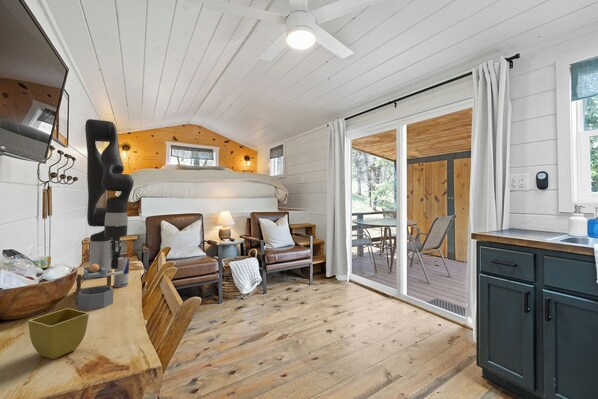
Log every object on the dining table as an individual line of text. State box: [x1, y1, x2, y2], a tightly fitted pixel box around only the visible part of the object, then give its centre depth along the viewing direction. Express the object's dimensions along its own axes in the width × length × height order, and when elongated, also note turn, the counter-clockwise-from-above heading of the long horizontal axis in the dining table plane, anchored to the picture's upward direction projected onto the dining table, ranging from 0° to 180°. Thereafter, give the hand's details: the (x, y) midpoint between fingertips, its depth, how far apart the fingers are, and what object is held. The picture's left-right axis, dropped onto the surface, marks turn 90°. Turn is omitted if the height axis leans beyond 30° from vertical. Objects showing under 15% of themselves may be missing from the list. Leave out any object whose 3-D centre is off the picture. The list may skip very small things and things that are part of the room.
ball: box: [88, 264, 99, 273], centre depth 113 cm, size 4×4×4 cm
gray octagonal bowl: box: [77, 285, 114, 311], centre depth 100 cm, size 10×10×5 cm
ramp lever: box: [81, 265, 123, 280], centre depth 111 cm, size 14×13×5 cm
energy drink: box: [113, 256, 130, 288], centre depth 122 cm, size 5×5×12 cm
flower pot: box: [27, 307, 90, 360], centre depth 69 cm, size 9×9×9 cm
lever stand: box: [75, 271, 112, 305], centre depth 109 cm, size 17×11×9 cm, turn 39°
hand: (114, 268), depth 109 cm, fingers closed
